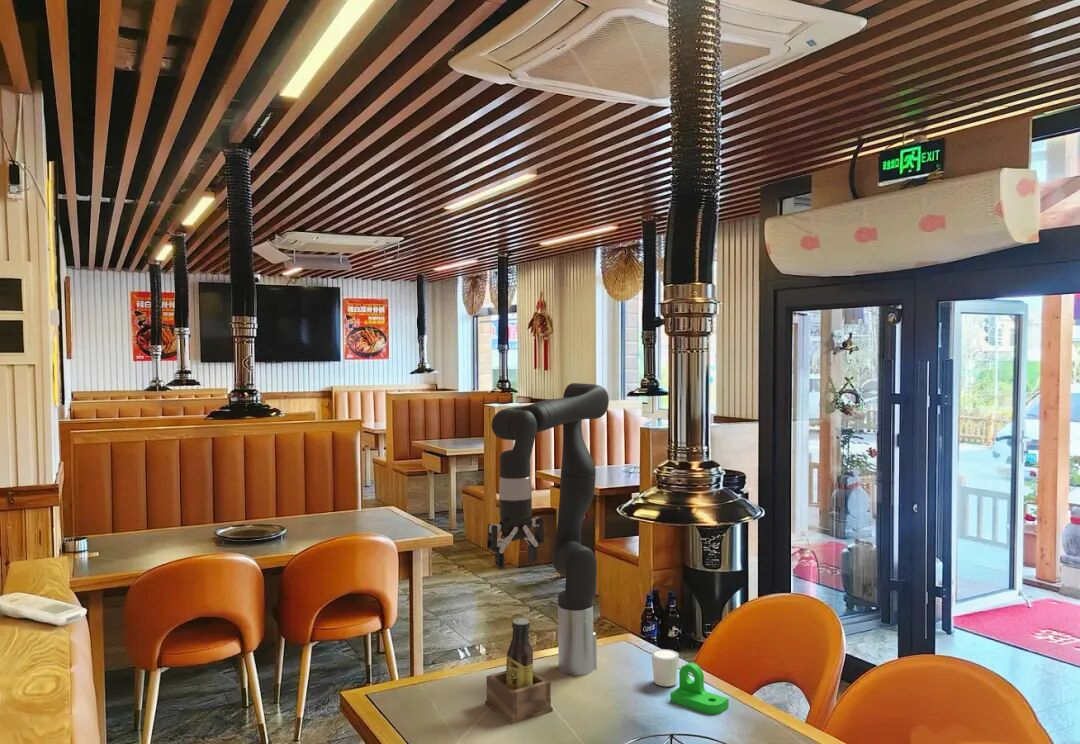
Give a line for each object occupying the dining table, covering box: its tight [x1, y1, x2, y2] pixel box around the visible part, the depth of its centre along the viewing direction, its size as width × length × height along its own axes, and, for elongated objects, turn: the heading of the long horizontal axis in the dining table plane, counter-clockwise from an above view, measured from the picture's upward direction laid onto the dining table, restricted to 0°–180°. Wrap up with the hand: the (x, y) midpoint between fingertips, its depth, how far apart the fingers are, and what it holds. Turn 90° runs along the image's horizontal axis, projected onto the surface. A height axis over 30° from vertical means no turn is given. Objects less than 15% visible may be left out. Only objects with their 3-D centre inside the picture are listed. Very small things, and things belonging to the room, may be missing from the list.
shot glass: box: [651, 648, 680, 687], centre depth 195 cm, size 7×7×7 cm
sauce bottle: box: [505, 617, 534, 690], centre depth 181 cm, size 6×6×20 cm
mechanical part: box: [670, 662, 730, 715], centre depth 183 cm, size 12×6×8 cm, turn 48°
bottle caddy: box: [484, 670, 554, 725], centre depth 181 cm, size 11×12×7 cm
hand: (516, 565), depth 180 cm, fingers open, 8 cm apart
